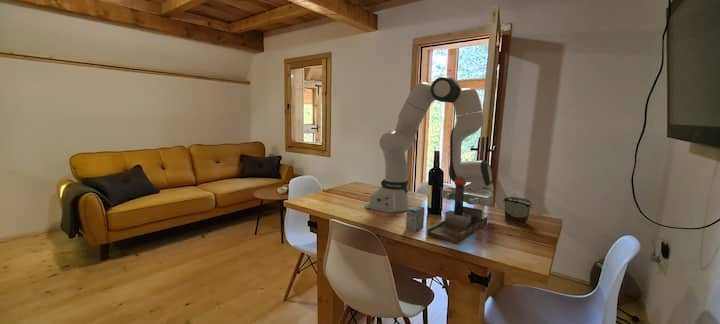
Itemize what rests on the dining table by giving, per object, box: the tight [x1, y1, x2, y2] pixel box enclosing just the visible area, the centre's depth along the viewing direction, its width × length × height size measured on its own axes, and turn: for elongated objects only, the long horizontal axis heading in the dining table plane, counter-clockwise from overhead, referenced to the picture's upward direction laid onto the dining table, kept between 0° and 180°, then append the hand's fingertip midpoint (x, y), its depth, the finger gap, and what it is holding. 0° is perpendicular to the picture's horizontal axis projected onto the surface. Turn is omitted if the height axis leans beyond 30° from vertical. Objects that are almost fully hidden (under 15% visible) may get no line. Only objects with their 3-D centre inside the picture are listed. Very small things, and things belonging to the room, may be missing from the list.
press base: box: [426, 205, 488, 246], centre depth 126 cm, size 30×12×7 cm, turn 138°
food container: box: [502, 196, 533, 226], centre depth 138 cm, size 12×6×10 cm, turn 34°
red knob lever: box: [444, 176, 471, 229], centre depth 124 cm, size 4×9×20 cm, turn 48°
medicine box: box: [405, 204, 425, 232], centre depth 127 cm, size 8×4×9 cm, turn 145°
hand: (458, 199), depth 123 cm, fingers open, 8 cm apart
